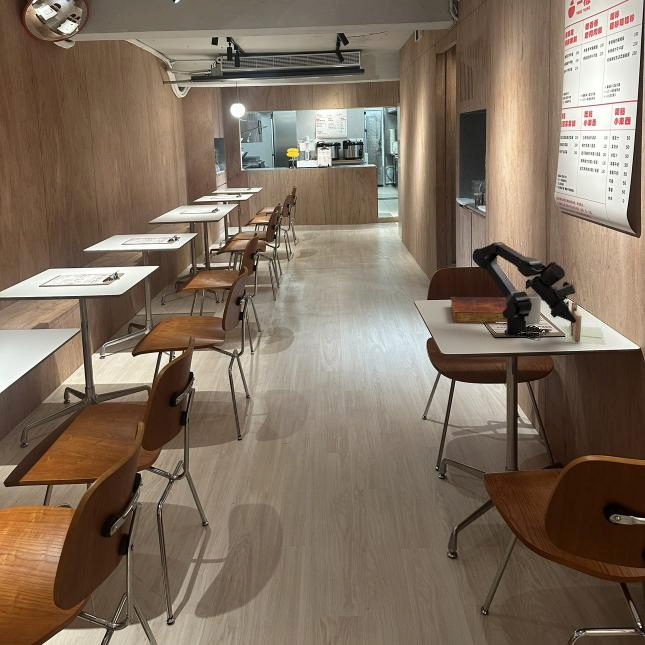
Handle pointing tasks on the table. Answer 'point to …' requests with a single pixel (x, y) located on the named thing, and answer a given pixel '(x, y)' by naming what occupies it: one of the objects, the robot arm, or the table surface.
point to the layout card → (586, 335)
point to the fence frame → (574, 308)
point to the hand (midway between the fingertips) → (575, 322)
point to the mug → (534, 309)
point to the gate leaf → (577, 326)
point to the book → (478, 309)
